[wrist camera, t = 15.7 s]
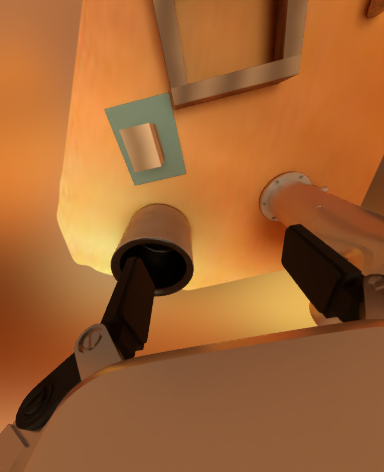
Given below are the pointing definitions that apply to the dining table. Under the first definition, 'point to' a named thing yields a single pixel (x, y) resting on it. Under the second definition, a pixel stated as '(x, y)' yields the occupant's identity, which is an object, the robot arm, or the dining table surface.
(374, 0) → the cuneiform tablet
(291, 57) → the box
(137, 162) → the beech block
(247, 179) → the dining table surface
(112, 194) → the dining table surface
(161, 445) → the robot arm
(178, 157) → the mat
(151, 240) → the planter
